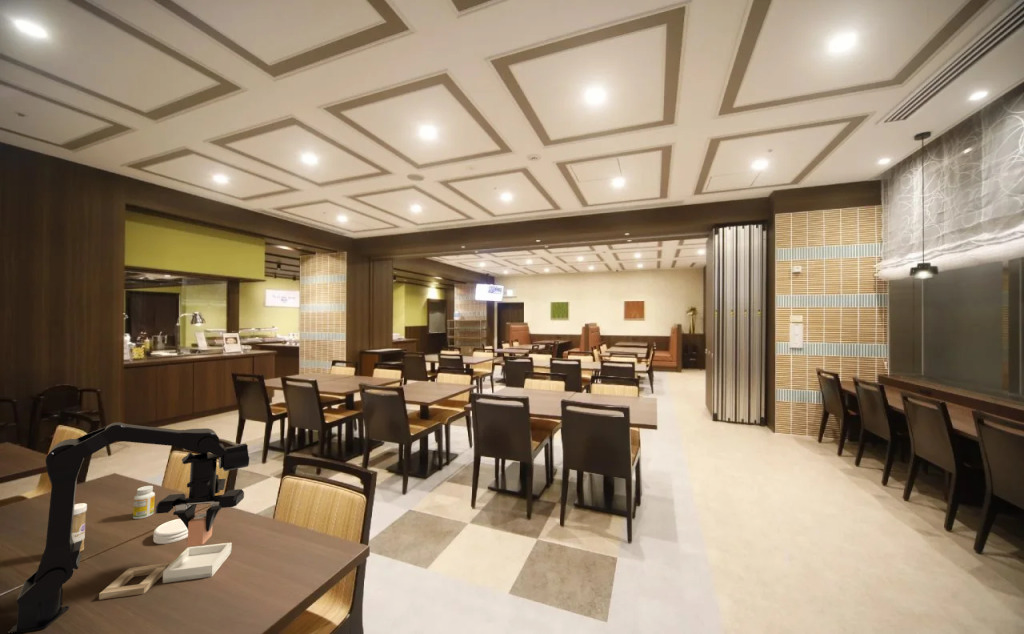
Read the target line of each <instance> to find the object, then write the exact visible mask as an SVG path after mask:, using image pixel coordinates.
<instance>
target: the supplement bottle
mask: <svg viewBox="0 0 1024 634" xmlns="http://www.w3.org/2000/svg"><path fill="white" fill-rule="evenodd" d="M153 490H154V486H153V485H145V486H141V487H139V488H137V490H136V495H135V496H134V497H133V507H132V518H133V519H134V520H141V519H145V518H148V517H151V516H152V515H153V514H155V501H156V499H155V498H156V493H155V492H154V491H153Z"/></svg>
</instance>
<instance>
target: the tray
mask: <svg viewBox="0 0 1024 634" xmlns="http://www.w3.org/2000/svg"><path fill="white" fill-rule="evenodd" d="M232 544H233V543H232V542H224V543H216V544H215V543H214V544H207V545H196V546H187V547H186V549H185V550H184V551H182V552H181V553H180V554H179V556H177V558H175V559H174V560H173V561H172V562H171V563H169V566H168V567H167V568H166V569H165V570H164V571H163V575H162V584H166V583H168V584H169V583H172V582H173V583H175V582H181V581H182V582H183V581H188V580H189V581H191V580H197V579H204V578H205V579H206V578H212V577H213V576H214V575H215V573H216V572H217V571H218V570H219V568H220V567H221V566H222V565H223V564H224V563H225V562H226V560H227V558H229V556H230V555H231V553H232Z"/></svg>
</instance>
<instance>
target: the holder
mask: <svg viewBox="0 0 1024 634" xmlns="http://www.w3.org/2000/svg"><path fill="white" fill-rule="evenodd" d="M169 565H170V563H168V562H167V563H160V564H159V563H158V564H151V565H142V566H134V567H128V568H127V569H126V570H125V571H124V572H123V573H121V575H119V576H118V577H117V578H115V580H114V581H112V582H111V583H110V584H109V585H108V586H106V587H105V588H104V589H103V590H102V591H101V592H99V595H98V600H99V601H101V600H107V599H116V598H123V597H129V596H136V595H137V596H138V595H144V594H145V593H146V592H147V591H148V590H149V589H150V588H152V586H153V585H154V584H155V583H157V581H159V580H160V578H162V577H163V571H164V570H165V569H166V568H167V567H168V566H169ZM142 576H146V578H145V579H143V580H142V581H140V583H139V584H132V585H131V584H130V585H126V584H128V582H130V580H131V579H133V578H134V577H142Z"/></svg>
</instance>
